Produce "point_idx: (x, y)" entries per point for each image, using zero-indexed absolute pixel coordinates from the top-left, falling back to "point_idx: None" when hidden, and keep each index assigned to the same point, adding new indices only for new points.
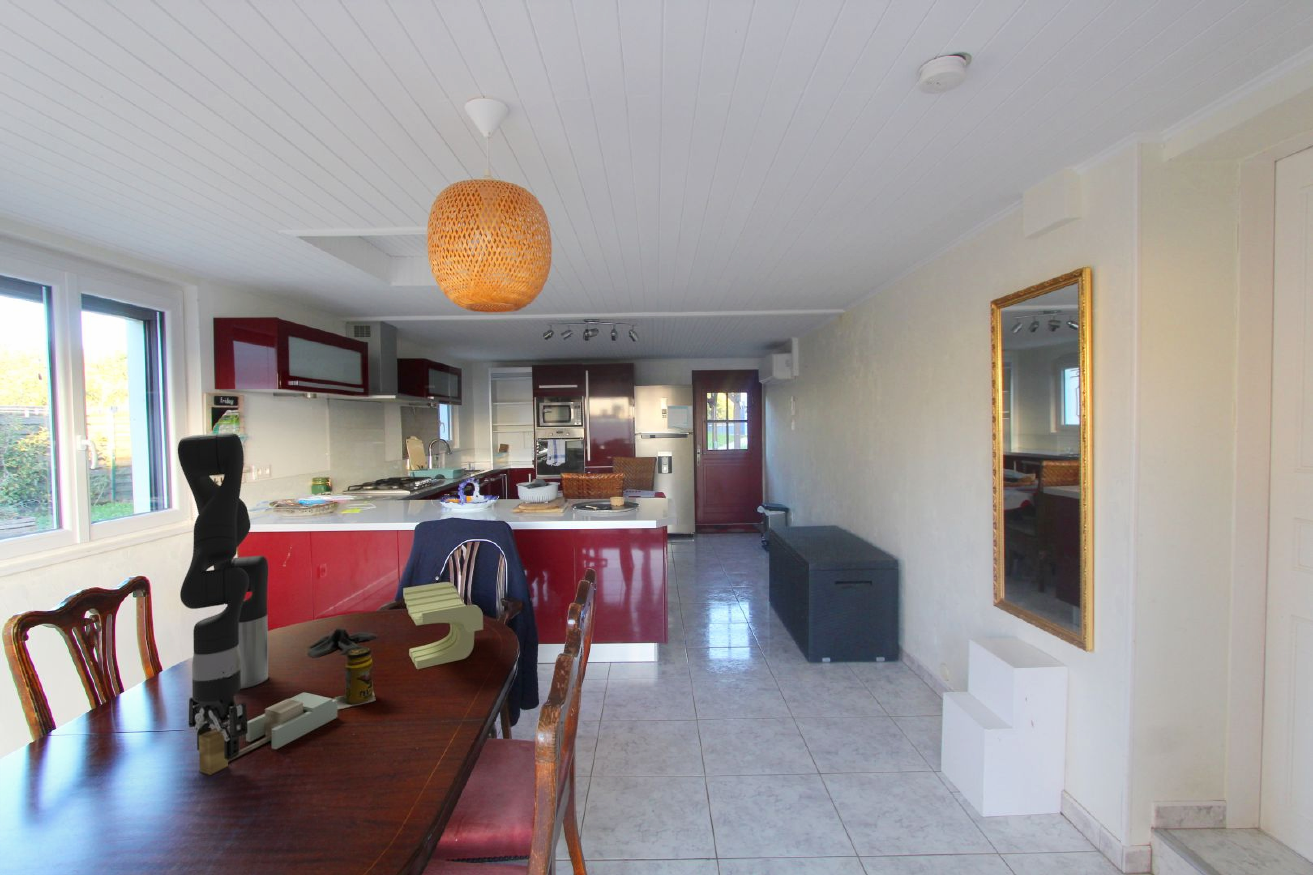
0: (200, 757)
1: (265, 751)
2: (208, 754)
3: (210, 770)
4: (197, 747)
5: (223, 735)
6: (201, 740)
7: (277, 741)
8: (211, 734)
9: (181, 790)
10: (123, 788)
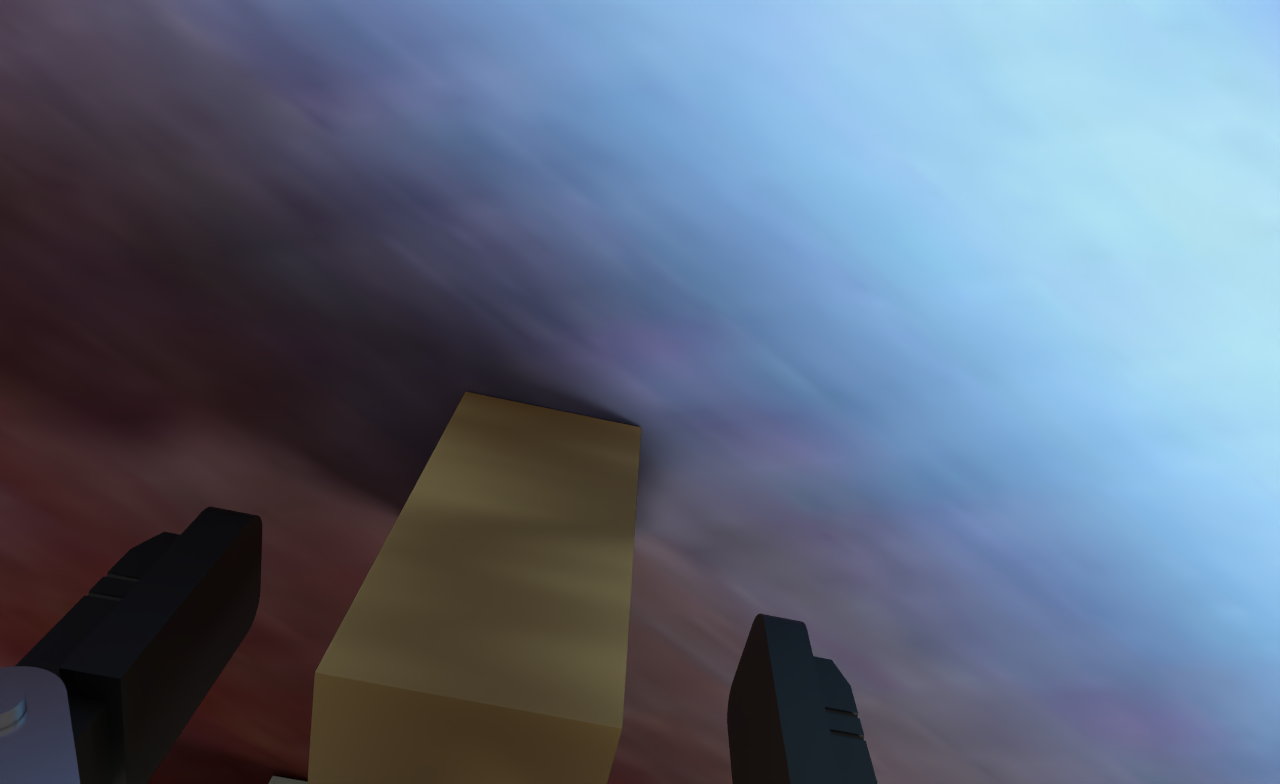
0: (616, 507)
1: None
2: (426, 512)
3: (454, 416)
4: (802, 639)
5: (64, 750)
6: (561, 660)
7: None
8: (442, 773)
9: (488, 107)
10: (1264, 25)
